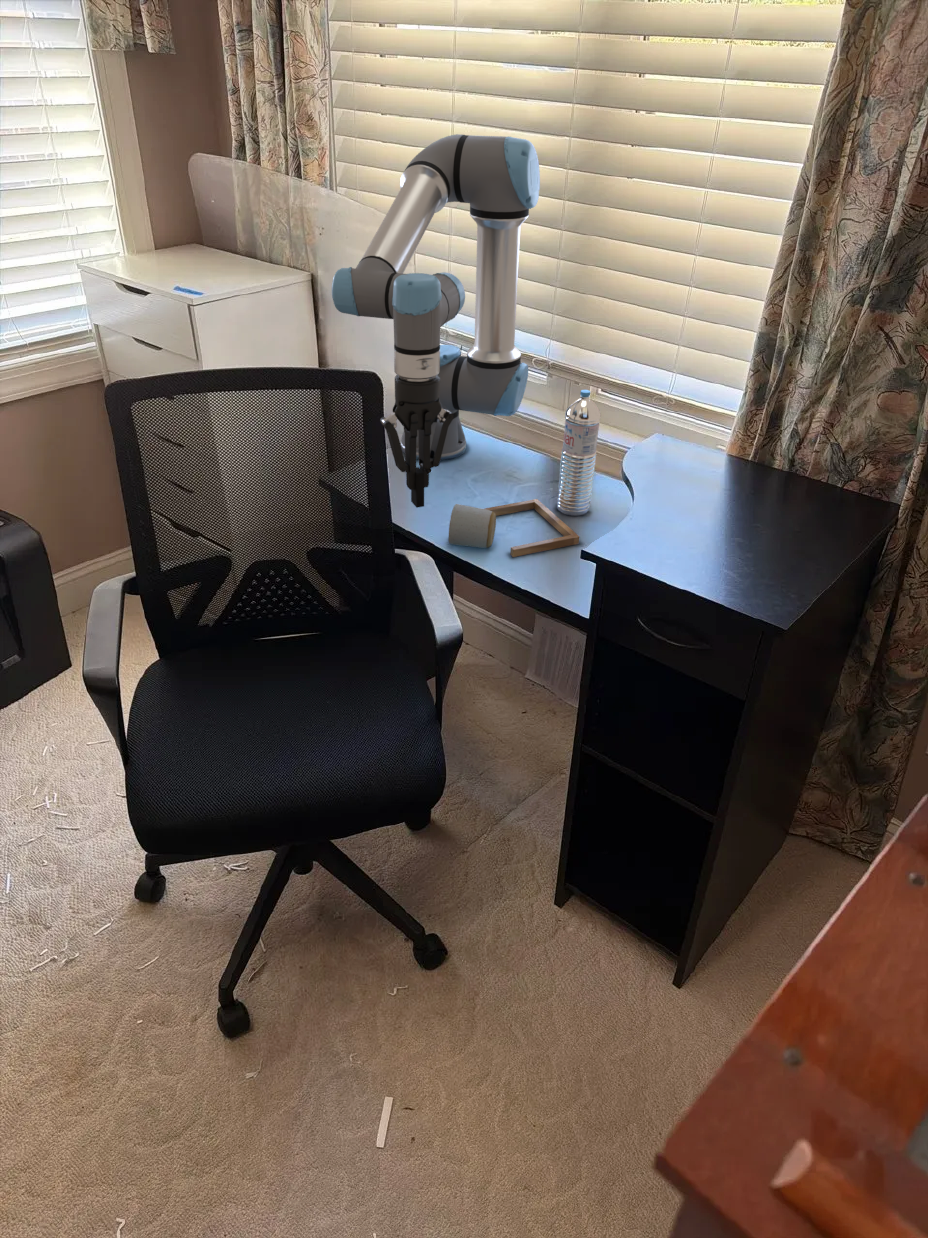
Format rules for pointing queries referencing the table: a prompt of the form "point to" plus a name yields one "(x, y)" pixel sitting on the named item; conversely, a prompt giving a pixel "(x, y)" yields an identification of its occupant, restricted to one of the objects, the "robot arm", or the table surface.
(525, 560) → the table surface
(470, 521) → the ceramic mug
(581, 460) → the water bottle
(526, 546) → the oak frame
